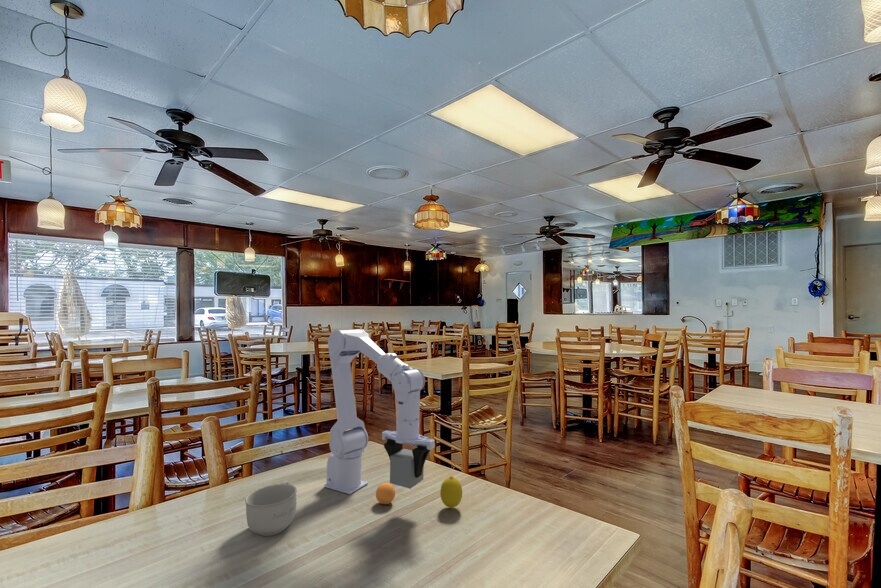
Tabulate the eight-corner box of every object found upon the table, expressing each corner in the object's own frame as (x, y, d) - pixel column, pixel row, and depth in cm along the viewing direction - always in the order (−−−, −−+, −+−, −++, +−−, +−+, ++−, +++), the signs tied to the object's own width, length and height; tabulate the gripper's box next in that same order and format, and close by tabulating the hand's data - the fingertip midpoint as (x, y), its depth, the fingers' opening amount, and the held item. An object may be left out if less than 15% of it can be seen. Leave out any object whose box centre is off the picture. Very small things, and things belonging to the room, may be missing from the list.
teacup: (278, 545, 85) (279, 506, 86) (233, 538, 88) (234, 501, 88) (311, 512, 99) (312, 479, 99) (272, 507, 101) (273, 475, 102)
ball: (371, 505, 103) (371, 485, 103) (383, 497, 108) (383, 478, 108) (387, 509, 101) (387, 489, 101) (398, 501, 105) (399, 482, 106)
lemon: (453, 516, 98) (454, 483, 98) (435, 509, 101) (436, 477, 102) (466, 507, 103) (466, 475, 103) (448, 501, 106) (449, 470, 106)
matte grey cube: (389, 483, 99) (390, 455, 100) (403, 474, 105) (403, 448, 105) (410, 488, 97) (410, 460, 97) (423, 479, 102) (423, 452, 102)
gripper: (374, 417, 101) (373, 472, 101) (424, 426, 94) (423, 485, 94) (391, 411, 107) (390, 463, 107) (439, 419, 100) (438, 475, 100)
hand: (406, 473), depth 101 cm, fingers closed on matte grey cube, 6 cm apart
